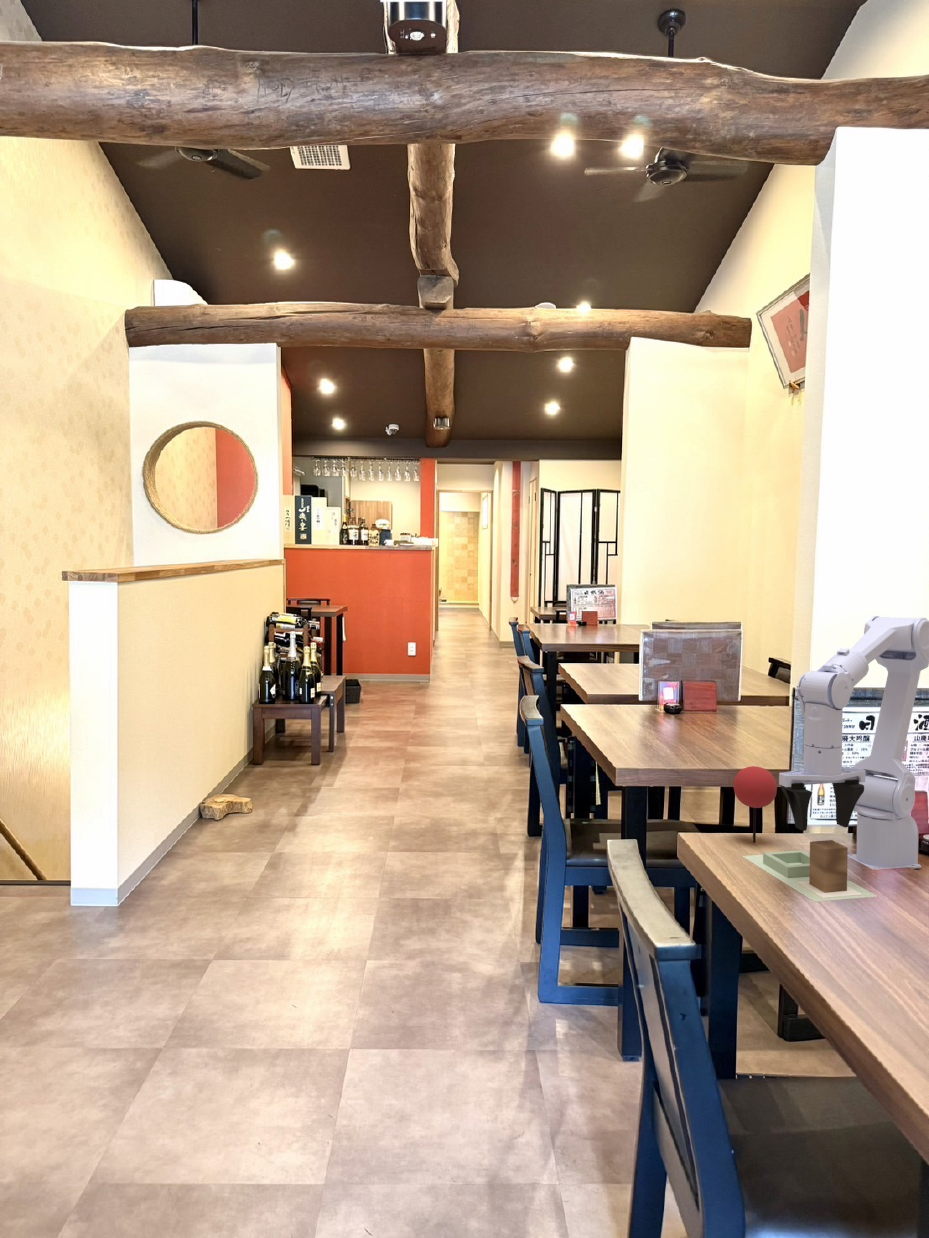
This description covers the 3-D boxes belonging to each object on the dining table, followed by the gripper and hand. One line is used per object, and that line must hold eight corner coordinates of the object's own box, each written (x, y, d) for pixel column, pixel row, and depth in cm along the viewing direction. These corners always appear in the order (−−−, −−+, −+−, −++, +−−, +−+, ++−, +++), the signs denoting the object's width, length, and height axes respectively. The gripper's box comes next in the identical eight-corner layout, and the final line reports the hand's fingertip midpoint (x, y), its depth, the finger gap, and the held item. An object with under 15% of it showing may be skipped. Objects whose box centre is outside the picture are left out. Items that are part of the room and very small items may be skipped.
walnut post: (831, 881, 138) (831, 839, 138) (846, 890, 134) (847, 847, 134) (809, 883, 137) (809, 841, 137) (824, 892, 133) (825, 849, 133)
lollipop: (781, 851, 156) (782, 771, 155) (740, 851, 156) (741, 771, 155) (767, 838, 163) (768, 762, 163) (728, 838, 164) (728, 762, 163)
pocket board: (797, 855, 154) (797, 842, 154) (878, 900, 132) (878, 885, 132) (741, 859, 152) (741, 846, 152) (814, 905, 130) (815, 890, 130)
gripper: (846, 738, 142) (845, 817, 143) (768, 742, 139) (768, 823, 140) (874, 746, 136) (873, 829, 136) (793, 750, 133) (792, 835, 133)
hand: (821, 827), depth 138 cm, fingers open, 7 cm apart
